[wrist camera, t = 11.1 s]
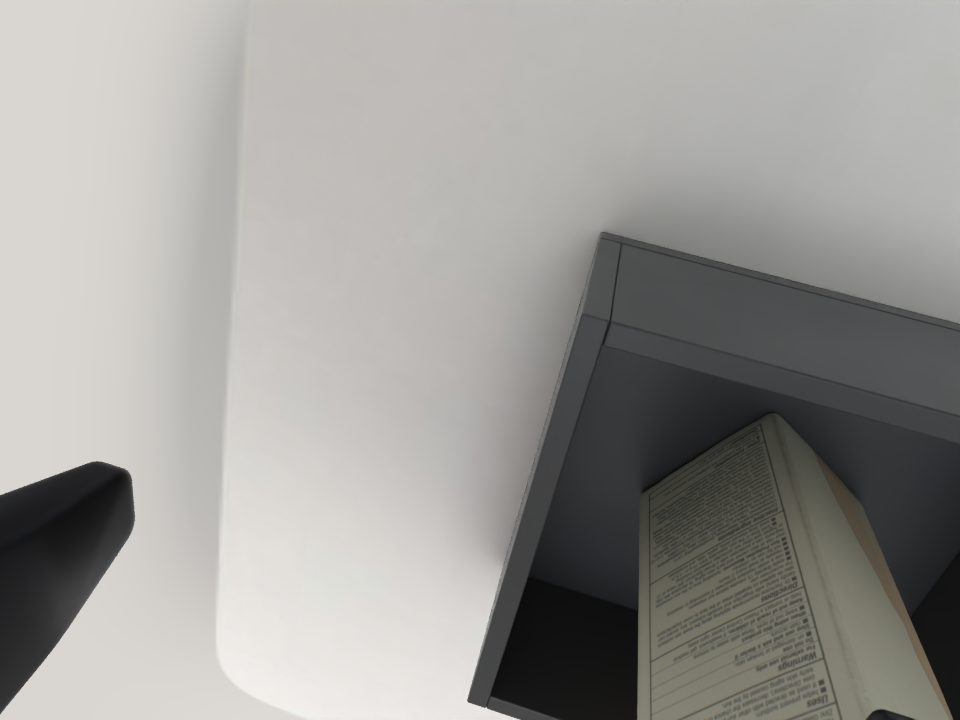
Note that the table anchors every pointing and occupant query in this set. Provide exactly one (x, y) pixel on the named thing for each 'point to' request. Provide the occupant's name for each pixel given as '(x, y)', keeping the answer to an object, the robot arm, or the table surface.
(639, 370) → the dark grey tray
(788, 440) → the box
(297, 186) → the table surface
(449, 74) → the table surface
